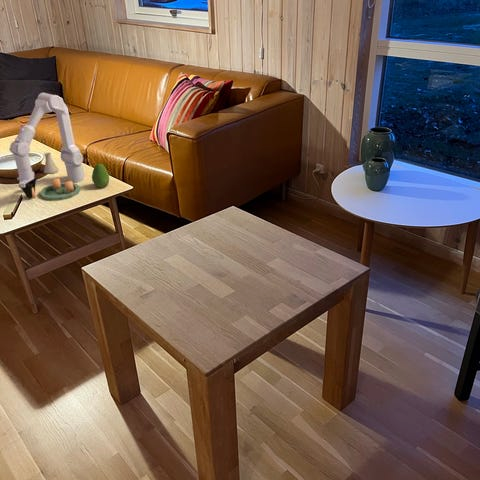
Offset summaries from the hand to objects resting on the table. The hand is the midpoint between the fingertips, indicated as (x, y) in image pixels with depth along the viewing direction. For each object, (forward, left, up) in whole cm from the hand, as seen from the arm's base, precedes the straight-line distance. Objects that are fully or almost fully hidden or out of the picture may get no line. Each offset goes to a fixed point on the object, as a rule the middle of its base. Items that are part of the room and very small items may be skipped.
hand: (31, 196), depth 212 cm
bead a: (-4, +17, -1) cm, 17 cm away
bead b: (-8, +10, -1) cm, 13 cm away
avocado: (-10, +30, -2) cm, 32 cm away
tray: (-4, +12, -1) cm, 13 cm away
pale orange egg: (0, 0, -1) cm, 1 cm away
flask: (-34, 0, -2) cm, 34 cm away
